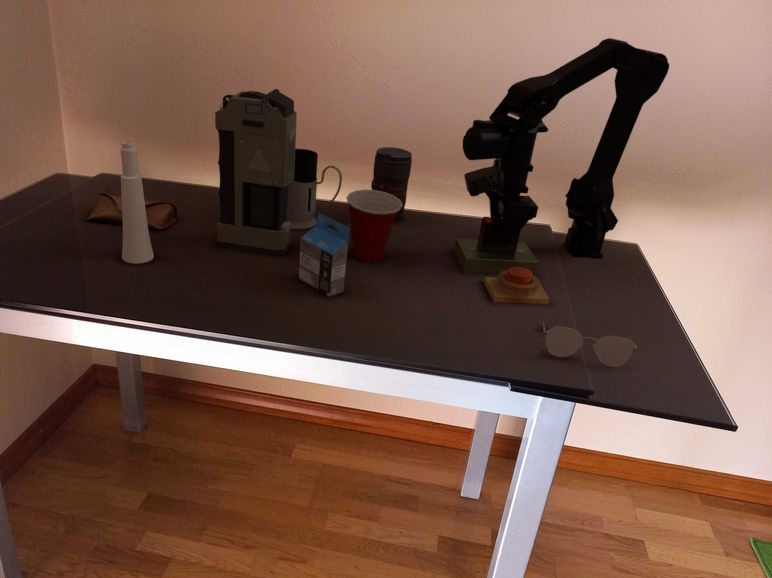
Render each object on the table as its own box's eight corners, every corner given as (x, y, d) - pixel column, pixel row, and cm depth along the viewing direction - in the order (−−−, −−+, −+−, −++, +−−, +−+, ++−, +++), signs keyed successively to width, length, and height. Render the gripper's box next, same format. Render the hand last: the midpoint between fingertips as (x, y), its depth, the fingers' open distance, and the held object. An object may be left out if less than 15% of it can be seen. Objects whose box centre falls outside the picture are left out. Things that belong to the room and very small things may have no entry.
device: (293, 243, 143) (299, 91, 127) (282, 258, 136) (287, 99, 121) (228, 233, 146) (227, 83, 130) (215, 247, 139) (211, 91, 124)
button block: (535, 284, 132) (539, 270, 130) (548, 304, 125) (552, 289, 123) (483, 282, 132) (486, 268, 130) (493, 302, 125) (496, 287, 123)
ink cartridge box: (297, 279, 129) (300, 216, 122) (313, 274, 131) (317, 211, 125) (328, 297, 123) (333, 232, 117) (345, 292, 125) (350, 227, 119)
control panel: (520, 253, 144) (523, 239, 143) (535, 277, 135) (539, 262, 133) (453, 250, 144) (455, 236, 142) (464, 274, 134) (467, 259, 133)
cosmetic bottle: (145, 248, 137) (136, 136, 125) (159, 259, 133) (151, 144, 121) (116, 255, 134) (104, 140, 122) (129, 266, 130) (118, 149, 118)
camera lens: (392, 227, 153) (400, 159, 145) (362, 217, 157) (368, 151, 149) (410, 217, 159) (419, 152, 151) (381, 208, 163) (387, 144, 155)
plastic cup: (367, 272, 133) (374, 212, 126) (330, 253, 140) (334, 195, 133) (406, 259, 139) (414, 201, 133) (369, 241, 146) (375, 185, 139)
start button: (526, 275, 129) (528, 267, 128) (533, 286, 125) (535, 277, 124) (503, 274, 129) (505, 266, 128) (509, 285, 125) (511, 276, 124)
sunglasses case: (83, 219, 147) (87, 188, 147) (98, 225, 154) (102, 195, 154) (163, 230, 144) (168, 198, 144) (174, 235, 151) (179, 205, 151)
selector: (511, 247, 139) (518, 217, 136) (515, 253, 137) (522, 223, 133) (477, 245, 139) (482, 216, 136) (480, 251, 136) (486, 221, 133)
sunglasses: (538, 353, 110) (545, 324, 108) (537, 335, 118) (544, 308, 116) (631, 370, 107) (640, 340, 105) (624, 351, 115) (632, 323, 113)
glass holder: (288, 211, 158) (291, 145, 150) (345, 224, 153) (351, 156, 145) (270, 223, 152) (271, 155, 144) (329, 237, 147) (334, 167, 139)
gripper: (462, 140, 136) (449, 216, 144) (483, 170, 120) (468, 253, 128) (518, 143, 136) (502, 218, 144) (547, 172, 120) (528, 255, 128)
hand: (499, 235), depth 136 cm, fingers open, 9 cm apart
